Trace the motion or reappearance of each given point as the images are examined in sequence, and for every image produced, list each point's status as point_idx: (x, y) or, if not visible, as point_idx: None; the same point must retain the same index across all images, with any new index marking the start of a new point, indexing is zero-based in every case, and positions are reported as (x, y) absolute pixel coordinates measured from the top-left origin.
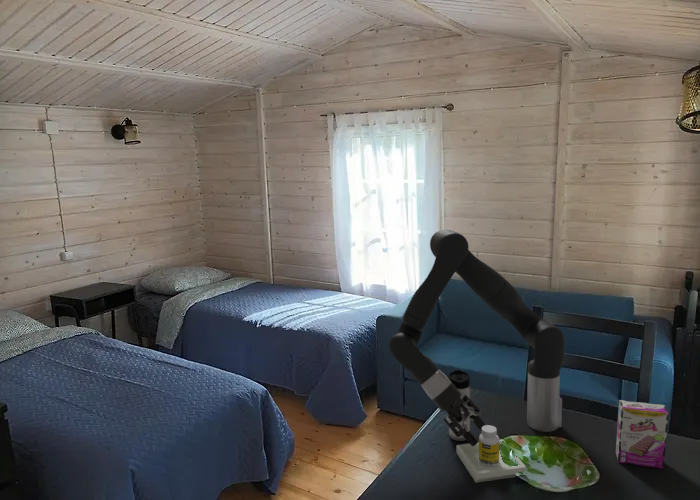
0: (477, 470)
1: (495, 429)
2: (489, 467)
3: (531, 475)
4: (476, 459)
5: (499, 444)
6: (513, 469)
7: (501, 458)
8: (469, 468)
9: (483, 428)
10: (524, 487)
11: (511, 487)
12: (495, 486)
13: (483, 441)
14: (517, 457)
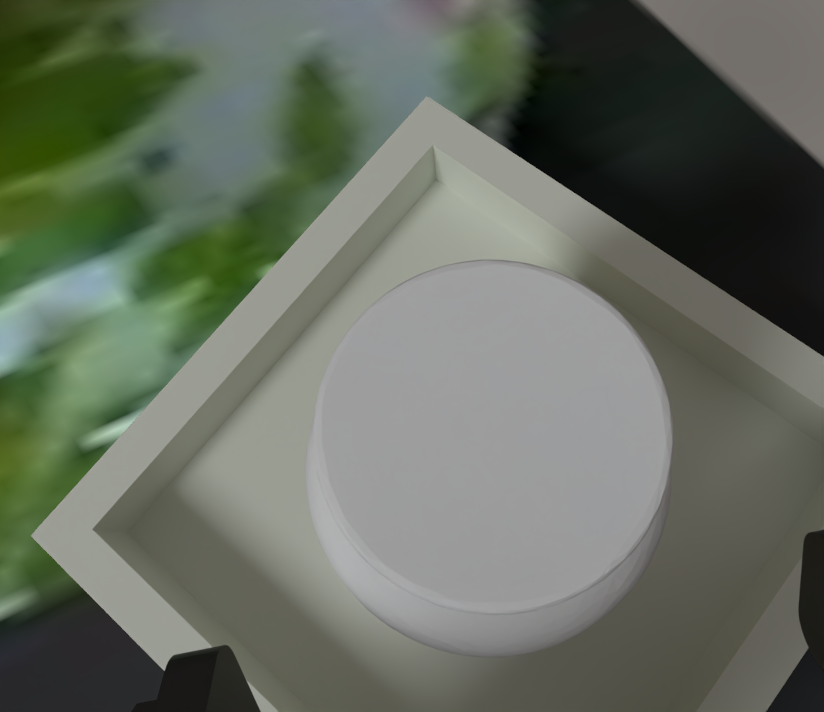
0: (734, 520)
1: (429, 293)
2: None
3: (399, 118)
4: None
5: (124, 541)
6: (537, 176)
7: None
8: None
9: (570, 543)
10: (604, 89)
11: (685, 165)
12: (781, 276)
13: (669, 482)
14: (314, 229)
